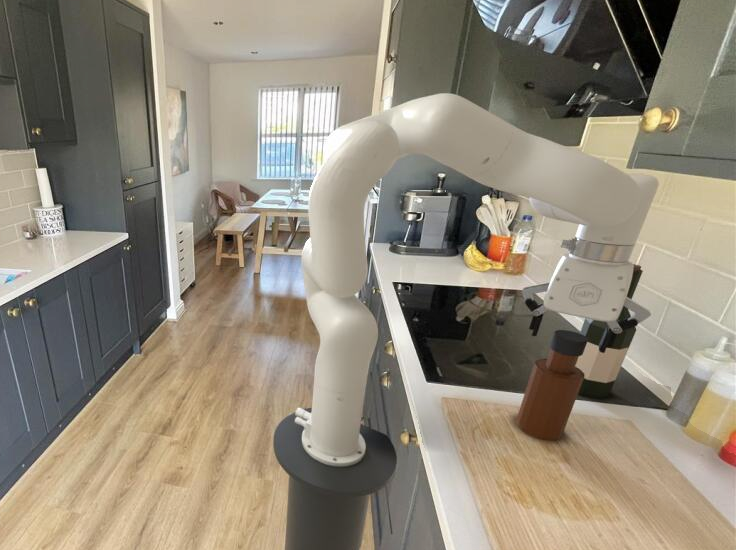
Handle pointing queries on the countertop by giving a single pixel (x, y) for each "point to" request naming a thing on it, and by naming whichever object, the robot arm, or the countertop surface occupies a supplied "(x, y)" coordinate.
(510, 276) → the countertop surface
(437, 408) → the countertop surface
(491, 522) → the countertop surface
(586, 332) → the wine bottle
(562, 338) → the bung
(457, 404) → the countertop surface
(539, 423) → the brown bottle
